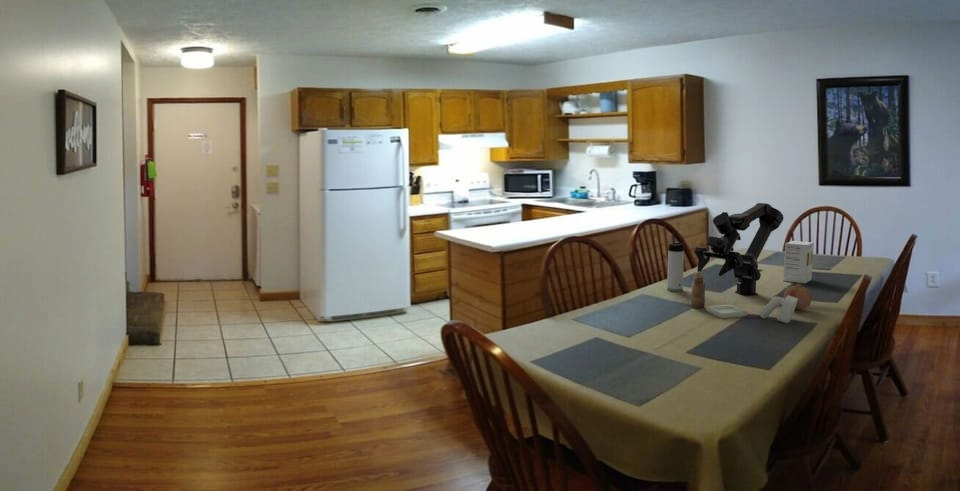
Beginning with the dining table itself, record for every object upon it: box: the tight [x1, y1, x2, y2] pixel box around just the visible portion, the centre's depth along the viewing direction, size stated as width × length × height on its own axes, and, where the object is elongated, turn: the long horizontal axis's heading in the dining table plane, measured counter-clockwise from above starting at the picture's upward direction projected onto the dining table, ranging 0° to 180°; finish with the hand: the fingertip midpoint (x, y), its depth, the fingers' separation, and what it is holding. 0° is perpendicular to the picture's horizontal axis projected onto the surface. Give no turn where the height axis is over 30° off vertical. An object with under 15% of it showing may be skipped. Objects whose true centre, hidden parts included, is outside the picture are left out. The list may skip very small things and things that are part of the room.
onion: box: [783, 283, 813, 311], centre depth 251 cm, size 10×9×10 cm
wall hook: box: [758, 295, 798, 324], centre depth 239 cm, size 8×10×10 cm
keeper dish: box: [705, 304, 748, 319], centre depth 248 cm, size 10×10×2 cm
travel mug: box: [666, 241, 686, 293], centre depth 285 cm, size 6×7×20 cm
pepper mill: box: [690, 271, 706, 310], centre depth 257 cm, size 5×5×14 cm
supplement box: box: [782, 240, 815, 284], centre depth 299 cm, size 10×9×17 cm
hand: (708, 273), depth 260 cm, fingers open, 9 cm apart
